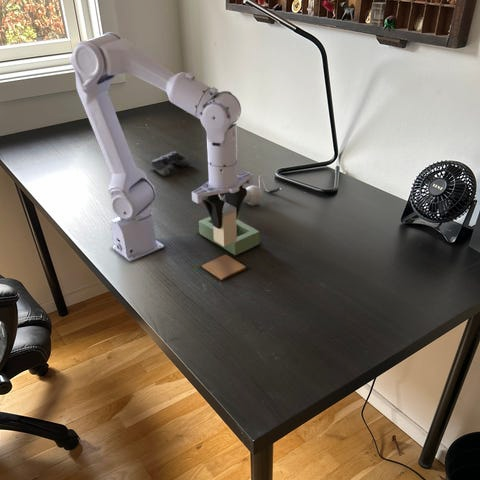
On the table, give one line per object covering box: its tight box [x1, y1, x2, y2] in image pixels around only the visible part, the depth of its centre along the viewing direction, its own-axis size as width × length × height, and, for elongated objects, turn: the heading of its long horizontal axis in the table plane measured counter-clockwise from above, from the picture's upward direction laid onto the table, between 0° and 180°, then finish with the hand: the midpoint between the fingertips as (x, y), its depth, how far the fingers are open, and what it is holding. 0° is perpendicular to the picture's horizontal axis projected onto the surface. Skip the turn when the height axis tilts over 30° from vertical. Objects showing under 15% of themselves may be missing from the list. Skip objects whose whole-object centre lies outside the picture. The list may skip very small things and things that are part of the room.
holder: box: [198, 216, 260, 256], centre depth 119 cm, size 8×14×4 cm, turn 41°
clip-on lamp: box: [218, 174, 283, 206], centre depth 135 cm, size 12×6×18 cm
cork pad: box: [201, 253, 247, 281], centre depth 110 cm, size 7×7×1 cm
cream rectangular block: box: [213, 201, 237, 247], centre depth 105 cm, size 4×4×8 cm
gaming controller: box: [149, 151, 191, 177], centre depth 152 cm, size 12×8×5 cm, turn 143°
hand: (224, 223), depth 105 cm, fingers closed on cream rectangular block, 3 cm apart
